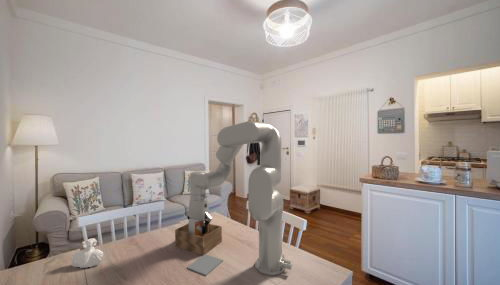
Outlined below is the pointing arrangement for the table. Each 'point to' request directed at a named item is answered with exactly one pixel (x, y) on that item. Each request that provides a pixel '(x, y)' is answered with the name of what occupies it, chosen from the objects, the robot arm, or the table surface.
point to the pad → (205, 264)
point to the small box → (196, 227)
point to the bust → (87, 255)
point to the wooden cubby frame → (198, 239)
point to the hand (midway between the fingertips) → (198, 231)
